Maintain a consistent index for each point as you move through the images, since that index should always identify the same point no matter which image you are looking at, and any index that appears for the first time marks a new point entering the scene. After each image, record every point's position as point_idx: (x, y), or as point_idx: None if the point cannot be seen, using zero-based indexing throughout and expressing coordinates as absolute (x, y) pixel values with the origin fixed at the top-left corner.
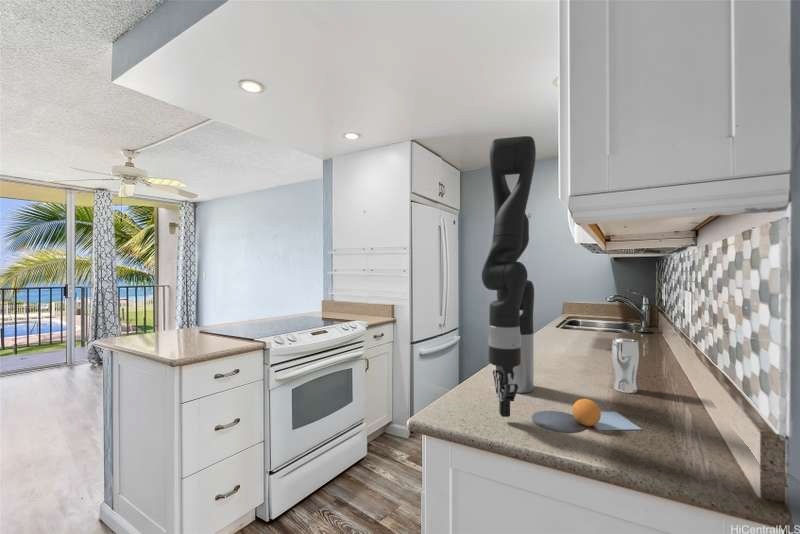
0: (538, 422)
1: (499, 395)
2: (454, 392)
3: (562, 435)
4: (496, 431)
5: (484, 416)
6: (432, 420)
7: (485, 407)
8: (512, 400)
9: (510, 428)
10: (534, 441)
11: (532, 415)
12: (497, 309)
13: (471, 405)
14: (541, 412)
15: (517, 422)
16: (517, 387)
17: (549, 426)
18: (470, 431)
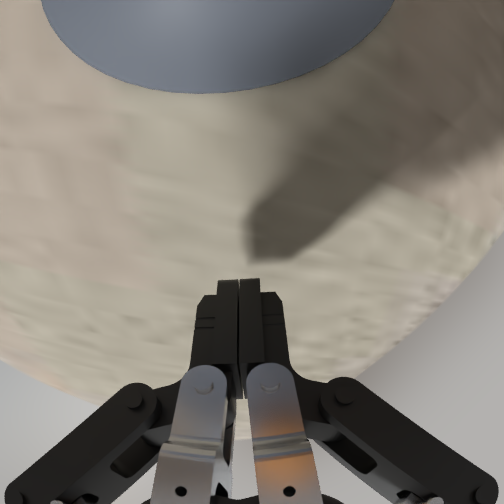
0: (260, 66)
1: (234, 429)
2: (3, 360)
3: (439, 5)
4: (349, 315)
5: (183, 334)
6: (244, 427)
7: (75, 312)
8: (362, 391)
9: (329, 259)
10: (471, 189)
11: (126, 81)
12: None
13: (79, 349)
14: (66, 14)
15: (246, 204)
16: (495, 488)
17: (332, 15)
18: (331, 376)
